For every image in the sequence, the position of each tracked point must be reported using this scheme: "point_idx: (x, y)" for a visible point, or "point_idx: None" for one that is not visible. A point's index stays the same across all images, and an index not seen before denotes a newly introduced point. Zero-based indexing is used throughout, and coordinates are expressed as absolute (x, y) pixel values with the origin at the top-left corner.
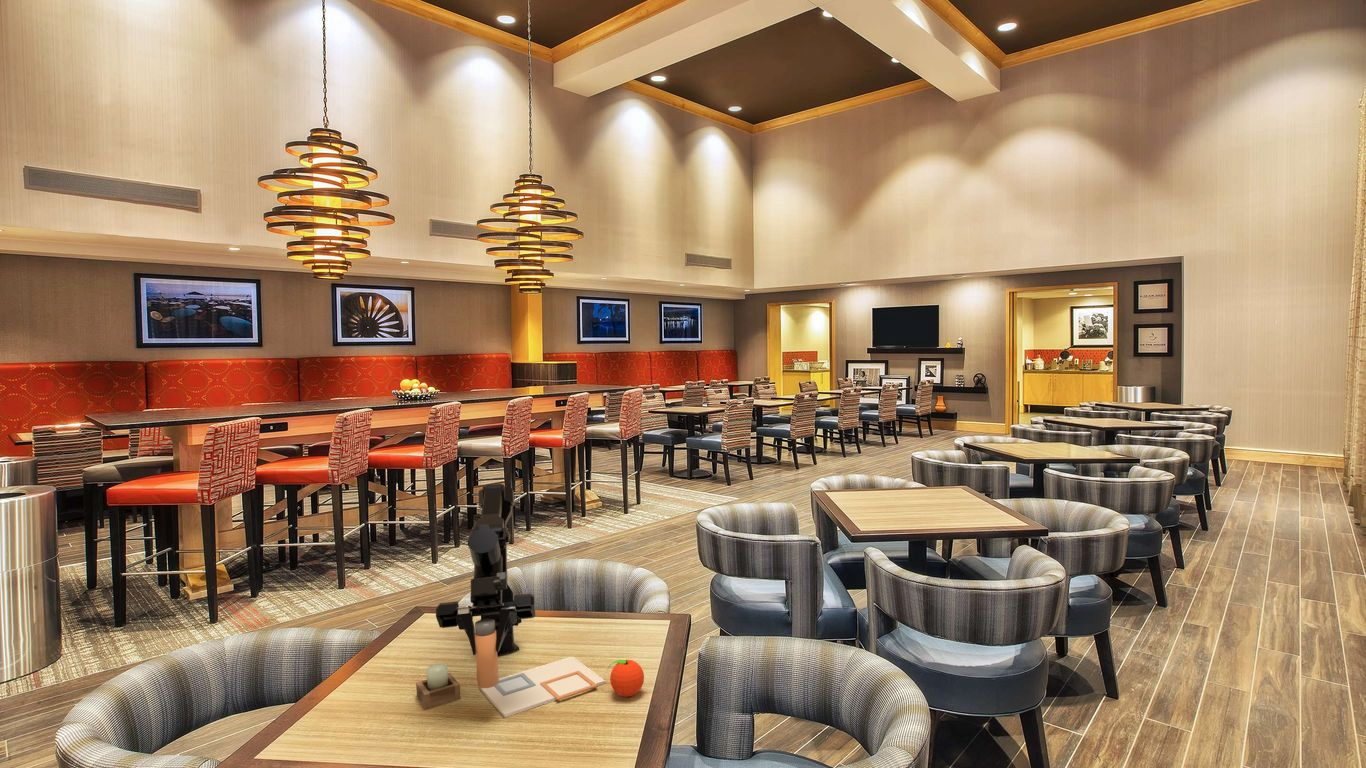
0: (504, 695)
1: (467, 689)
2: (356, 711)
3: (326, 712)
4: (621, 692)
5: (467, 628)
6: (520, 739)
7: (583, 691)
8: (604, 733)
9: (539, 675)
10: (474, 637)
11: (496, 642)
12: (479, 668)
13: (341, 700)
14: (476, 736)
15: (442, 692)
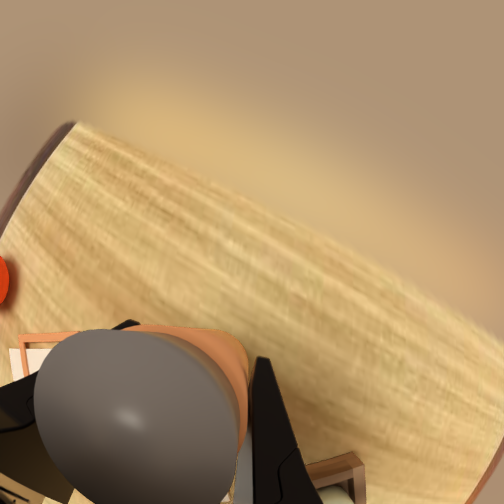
0: None
1: None
2: (446, 467)
3: (473, 468)
4: (4, 262)
5: (302, 495)
6: (182, 227)
7: (38, 334)
8: (70, 184)
9: None
10: (245, 450)
11: None
12: (238, 347)
13: (451, 500)
14: (264, 285)
15: (321, 475)
